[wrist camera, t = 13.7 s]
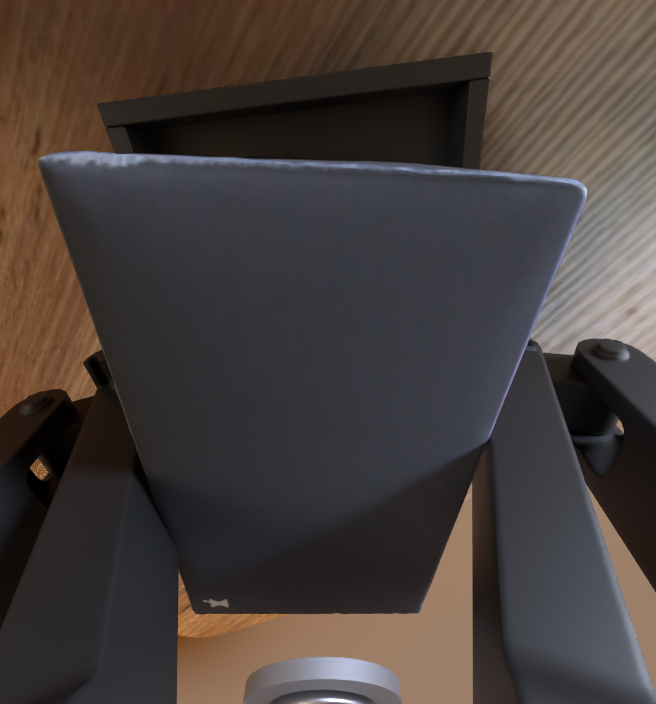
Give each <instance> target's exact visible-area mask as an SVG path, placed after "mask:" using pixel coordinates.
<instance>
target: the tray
mask: <svg viewBox="0 0 656 704" xmlns="http://www.w3.org/2000/svg"><path fill="white" fill-rule="evenodd" d="M492 57H493V52H491V51H490V52H482V53H475V54H467V55H460V56H452V57H445V58H437V59H430V60H422V61H415V62H407V63H400V64H392V65H385V66H377V67H370V68H362V69H354V70H347V71H339V72H332V73H324V74H317V75H309V76H302V77H294V78H287V79H279V80H272V81H264V82H257V83H249V84H242V85H234V86H226V87H219V88H211V89H204V90H196V91H189V92H181V93H174V94H166V95H159V96H151V97H144V98H136V99H129V100H121V101H114V102H106V103H99V104H98V109H99V112H100V114H101V117H102V120H103V122H104V125H105V126H106V127H108V128H107V129H106V130H107V133H108V136H109V138H110V141H111V144H112V146H113V149H114V152H115V153H116V154H163V155H184V156H200V157H237V158H245V157H247V156H263V157H285V158H299V159H318V160H335V161H380V162H400V163H417V164H425V165H438V166H446V167H457V168H465V169H478V170H480V161H481V153H482V144H483V135H484V127H485V118H486V110H487V101H488V92H489V84H490V79H488V78H489V77H490V74H491V65H492Z"/></svg>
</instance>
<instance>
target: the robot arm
mask: <svg viewBox="0 0 656 704" xmlns="http://www.w3.org/2000/svg"><path fill="white" fill-rule="evenodd" d="M83 364H84V366H85V368H86V369H87V371H88V373H89V374H90V376H91V378H92V380H93V381H94V383H95V385H96V386H97V391H96V393H95V396H92V397H88V398H84V399H80V400H77V401H73V402H72V400H71V399H70V397H69V396H68V394H67V393H66V391H64V390H62V389H52V390H48V391H41V392H38V393H36V394H33V395H30V396H28V397H27V398H26V399H25V400H23V401H21V402H19V403H18V404H16V405H15V406H14V407H12V408H11V409H10V410H9V411H8V412H7V413H6V414H5V415H3V416H2V417H1V418H0V704H176V702H177V640H178V637H177V636H178V575H179V549H178V548H177V546H176V544H175V543H174V541H173V539H172V538H171V535H170V534H169V532H168V530H167V528H166V526H165V524H164V522H163V520H162V518H161V516H160V513H159V510H158V508H157V506H156V503H155V500H154V497H153V494H152V491H151V488H150V485H149V482H148V479H147V476H146V474H145V471H144V468H143V465H142V462H141V459H140V456H139V454H138V451H137V448H136V445H135V442H134V439H133V437H132V434H131V432H130V429H129V426H128V423H127V420H126V417H125V414H124V411H123V408H122V405H121V402H120V400H119V397H118V394H117V391H116V388H115V385H114V381H113V378H112V375H111V373H110V370H109V367H108V364H107V361H106V358H105V356H104V353H103V350H100V351H98V352H96V353H94V354H93V355H91V356H89V357H88V358H87V359H86V360H85V361H84V362H83ZM618 420H620V421H621V423H622V425H623V428H624V433H623V432H622V431H621V430H620V429H619V428H618V427H617V426H616V424H617V422H618ZM37 458H38V459H39V461H40V462H41V463H42V464H43V466H44V467H45V468H46V469H47V470H48V472H49V473H48V474H47V475H46V477H45V478H44V479H43V480H40V479H38V478H37V477H36V476H35V474H34V473H33V472H32V471H31V470H30V467H31V465H32V464H33V463H34V462H35V460H36V459H37ZM586 484H587V486H588V487H589V489H590V491H591V492H592V494H593V495H594V497H595V498H596V500H597V501H598V503H599V505H600V506H601V507H602V509H603V511H604V512H605V514H606V515H607V517H608V518H609V520H610V522H611V523H612V525H613V526H614V528H615V529H616V531H617V532H618V534H619V536H620V537H621V539H622V540H623V542H624V543H625V545H626V547H627V548H628V550H629V551H630V553H631V554H632V556H633V557H634V559H635V561H636V562H637V564H638V565H639V567H640V568H641V570H642V571H643V573H644V575H645V576H646V578H647V579H648V581H649V582H650V584H651V585H652V587H653V588H654V590H655V592H656V362H655V361H653V360H652V359H651V358H649V357H648V356H647V355H645V354H644V353H643V352H641V351H640V350H638V349H636V348H634V347H632V346H630V345H627V344H624V343H622V342H620V341H617V340H612V339H588V340H583V341H581V342H579V343H578V345H577V347H576V350H575V353H574V355H563V354H551V353H543V352H542V350H541V347H540V346H539V345H538V343H537V342H535V341H533V340H532V339H530V338H529V341H528V343H527V346H526V348H525V350H524V353H523V355H522V358H521V360H520V363H519V365H518V368H517V370H516V373H515V375H514V377H513V380H512V382H511V385H510V387H509V390H508V392H507V395H506V397H505V400H504V402H503V405H502V407H501V410H500V412H499V415H498V417H497V420H496V422H495V425H494V427H493V430H492V432H491V435H490V437H489V439H488V442H487V444H486V447H485V449H484V452H483V454H482V457H481V459H480V462H479V464H478V467H477V469H476V472H475V474H474V477H473V479H472V529H473V530H472V532H473V533H472V536H473V537H472V541H473V542H472V543H473V704H656V693H655V691H654V688H653V685H652V682H651V680H650V676H649V673H648V670H647V667H646V664H645V661H644V658H643V655H642V652H641V649H640V646H639V643H638V640H637V637H636V634H635V631H634V628H633V625H632V622H631V619H630V616H629V613H628V610H627V607H626V604H625V601H624V598H623V595H622V592H621V589H620V586H619V583H618V580H617V577H616V573H615V570H614V568H613V565H612V562H611V558H610V555H609V552H608V549H607V546H606V544H605V540H604V537H603V534H602V531H601V528H600V525H599V522H598V519H597V516H596V513H595V510H594V507H593V504H592V501H591V498H590V495H589V492H588V489H587V486H586ZM271 704H374V702H373V701H372V700H371V699H370V698H368V697H367V696H364V695H362V694H358V693H354V692H349V691H343V690H329V689H319V690H305V691H298V692H293V693H289V694H286V695H283V696H280V697H278V698H276V699H275V700H273V701H272V702H271Z"/></svg>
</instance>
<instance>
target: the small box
mask: <svg viewBox="0 0 656 704" xmlns="http://www.w3.org/2000/svg"><path fill="white" fill-rule="evenodd" d="M38 164H39V168H40V172H41V175H42V178H43V181H44V184H45V186H46V189H47V192H48V194H49V197H50V201H51V204H52V207H53V211H54V214H55V216H56V219H57V221H58V224H59V227H60V230H61V232H62V235H63V238H64V241H65V243H66V246H67V249H68V252H69V255H70V258H71V260H72V263H73V266H74V269H75V272H76V275H77V278H78V280H79V283H80V286H81V289H82V292H83V295H84V298H85V301H86V304H87V307H88V310H89V312H90V315H91V318H92V321H93V324H94V327H95V330H96V333H97V336H98V339H99V342H100V345H101V348H102V350H103V353H104V356H105V358H106V361H107V364H108V367H109V370H110V373H111V375H112V378H113V381H114V385H115V388H116V391H117V394H118V397H119V400H120V402H121V405H122V408H123V411H124V414H125V417H126V420H127V423H128V426H129V429H130V432H131V434H132V437H133V439H134V442H135V445H136V448H137V451H138V454H139V456H140V459H141V462H142V465H143V468H144V471H145V474H146V476H147V479H148V482H149V485H150V488H151V491H152V494H153V497H154V500H155V503H156V506H157V508H158V510H159V513H160V516H161V518H162V520H163V522H164V524H165V526H166V528H167V530H168V532H169V534H170V535H171V538H172V539H173V541H174V543H175V544H176V546H177V548H178V549H179V572H180V575H181V577H182V580H183V583H184V586H185V589H186V592H187V594H188V597H189V600H190V603H191V607H192V610H193V611H194V612H195V614H333V613H340V614H351V613H353V614H354V613H355V614H375V613H376V614H379V613H380V614H392V613H400V614H408V613H419V612H420V611H421V608H422V605H423V602H424V600H425V597H426V594H427V592H428V590H429V587H430V585H431V583H432V580H433V578H434V575H435V572H436V570H437V567H438V565H439V562H440V559H441V557H442V554H443V552H444V549H445V546H446V544H447V542H448V539H449V537H450V534H451V532H452V529H453V527H454V524H455V522H456V519H457V517H458V514H459V512H460V509H461V507H462V504H463V502H464V499H465V497H466V494H467V492H468V489H469V487H470V484H471V482H472V479H473V477H474V474H475V472H476V469H477V467H478V464H479V462H480V459H481V457H482V454H483V452H484V449H485V447H486V444H487V442H488V439H489V437H490V435H491V432H492V430H493V427H494V425H495V422H496V420H497V417H498V415H499V412H500V410H501V407H502V405H503V402H504V400H505V397H506V395H507V392H508V390H509V387H510V385H511V382H512V380H513V377H514V375H515V373H516V370H517V368H518V365H519V363H520V360H521V358H522V355H523V353H524V350H525V348H526V346H527V343H528V341H529V338H530V336H531V333H532V331H533V328H534V326H535V323H536V321H537V318H538V316H539V314H540V311H541V309H542V306H543V304H544V301H545V299H546V296H547V294H548V292H549V289H550V287H551V284H552V282H553V280H554V277H555V275H556V272H557V270H558V268H559V265H560V263H561V261H562V258H563V256H564V253H565V251H566V249H567V246H568V244H569V241H570V239H571V236H572V234H573V231H574V229H575V226H576V224H577V221H578V219H579V216H580V214H581V211H582V209H583V207H584V204H585V202H586V199H587V189H586V188H585V186H584V185H583V184H582V183H581V182H580V181H577V180H574V179H570V178H561V177H552V176H544V175H536V174H524V173H513V172H503V171H489V170H478V169H465V168H457V167H446V166H438V165H425V164H417V163H400V162H380V161H335V160H318V159H299V158H285V157H263V156H247V157H245V158H237V157H200V156H184V155H163V154H116V153H108V152H98V151H85V150H83V151H66V152H55V153H52V154H48V155H45V156H43V157H41V158H40V159H38Z"/></svg>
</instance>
